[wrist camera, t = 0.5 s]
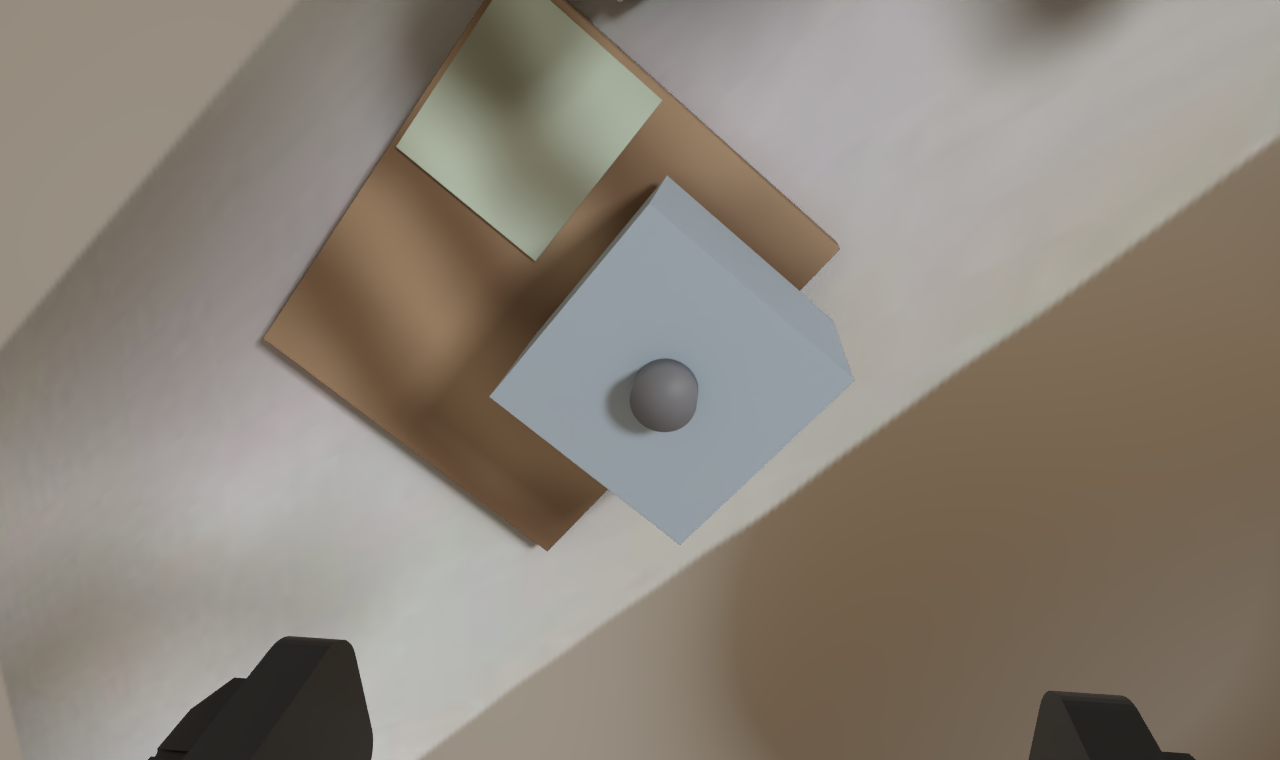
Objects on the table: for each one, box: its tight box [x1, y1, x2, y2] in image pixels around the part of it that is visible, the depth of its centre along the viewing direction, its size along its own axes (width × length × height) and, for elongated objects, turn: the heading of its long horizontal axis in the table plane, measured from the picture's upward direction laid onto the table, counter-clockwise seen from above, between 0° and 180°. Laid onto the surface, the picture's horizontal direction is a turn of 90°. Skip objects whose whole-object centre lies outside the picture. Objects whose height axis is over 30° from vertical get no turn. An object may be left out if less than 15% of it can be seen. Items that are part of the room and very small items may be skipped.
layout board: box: [264, 0, 840, 551], centre depth 31 cm, size 18×15×2 cm
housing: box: [489, 176, 854, 545], centre depth 27 cm, size 8×8×7 cm
